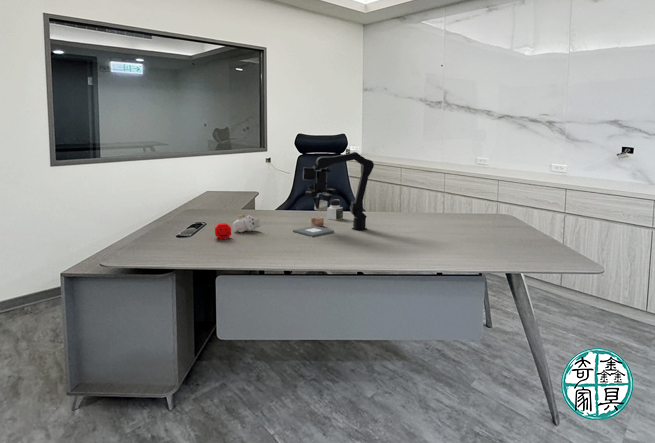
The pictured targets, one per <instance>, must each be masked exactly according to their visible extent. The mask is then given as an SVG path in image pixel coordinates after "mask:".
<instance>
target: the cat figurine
mask: <svg viewBox="0 0 655 443" xmlns="http://www.w3.org/2000/svg"><path fill="white" fill-rule="evenodd" d="M259 223H260V218H255V217H253V216H252V215H247V216H246V215H245V214H240V215H238V216H236V220H235V221H234V222H233V223H232V228H233V229H234V230H235V231H236V232H238V233H239V232H241V233H244V232H246V231H247V232H252V231H254V230H256V229H257V228H260V227H261V224H259Z"/></svg>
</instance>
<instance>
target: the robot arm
mask: <svg viewBox="0 0 655 443" xmlns="http://www.w3.org/2000/svg"><path fill="white" fill-rule="evenodd" d="M349 161H356V162H357V163H358V164H360V178H359V180H358V181H359V182H358V185H357V191H356V194H355V199H354V201H351V200H350V205H349V209H350V210H349V211H350V213H351V214H352V216H353V223H352V226H353V227H351V230H355V231H360V232H361V231H365V230H368V228H367V227H366V225H367V224H366V219H367V217H368V216H367V214H365V213H364V197H365V194H366V190H367V185H368V180H369V177H370V175H371V173H372V172H373V170H374V167H375V163H374V161H373V160H371V159H368V158H365V157H364V156H362V155H360V154H359V152H356V151H352V152H349V153H345V154H340V155H333V156H318V157H317V159H316V161H315V163H314V165H313V166H312V167H305V166H304V167H303V170H302V180H303V181H314V179H315V180H316V181H314V183H313V184H312V183H308V184H306V191H305V194H304V196H305V197H308V198H311V199H312V200H313V203H314V207H315V206H316V209H318V208H319V203H320V200H321V196H322V198H323V199H322V200H323V201H327V205H328V204H329V202H330V201H331V199H332V197H333V196H334V195H337V194H338V192H337V189H335V188H328V185H329V182H328V173H331V170H330V169H329V167H331V166H332V165H334V164H339V163H345V162H349ZM320 195H321V196H320Z"/></svg>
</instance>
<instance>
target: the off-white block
mask: <svg viewBox="0 0 655 443" xmlns="http://www.w3.org/2000/svg"><path fill="white" fill-rule="evenodd" d="M313 208H314V211H318V212H325V211H326V212H327V208H328V204H327V201H323V199H320V203H319V208H318V209H316V206H315V205H314V207H313Z"/></svg>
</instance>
